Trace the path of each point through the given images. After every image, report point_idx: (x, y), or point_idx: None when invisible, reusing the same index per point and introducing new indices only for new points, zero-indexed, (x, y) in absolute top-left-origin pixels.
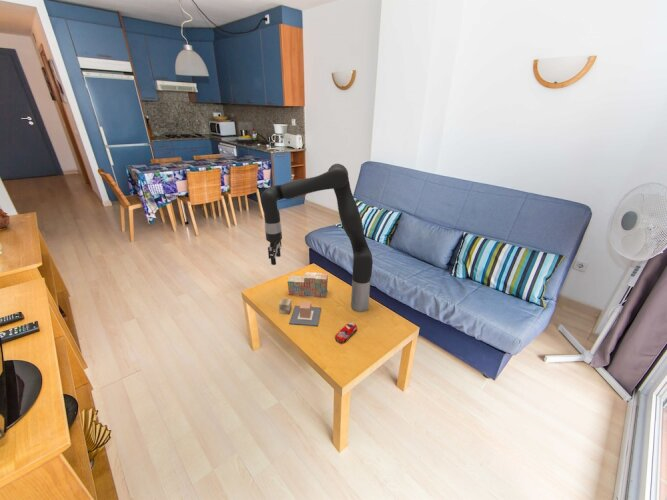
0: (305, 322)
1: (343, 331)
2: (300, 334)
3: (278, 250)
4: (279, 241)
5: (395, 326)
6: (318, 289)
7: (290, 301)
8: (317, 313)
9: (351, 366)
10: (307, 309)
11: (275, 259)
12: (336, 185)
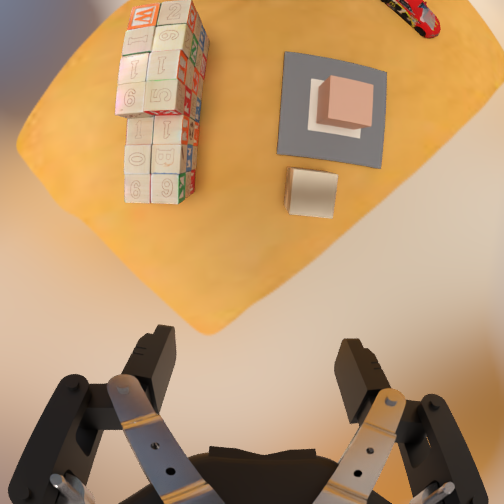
0: (376, 110)
1: (421, 10)
2: (419, 130)
3: (153, 388)
4: (66, 458)
5: None
6: (198, 55)
7: (305, 170)
8: (325, 65)
9: (484, 36)
10: (371, 94)
11: (369, 375)
12: None
